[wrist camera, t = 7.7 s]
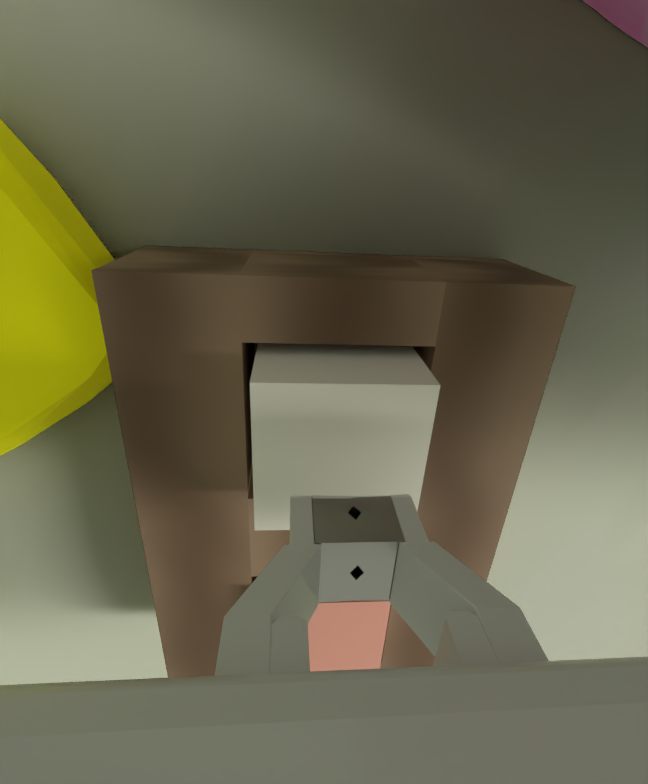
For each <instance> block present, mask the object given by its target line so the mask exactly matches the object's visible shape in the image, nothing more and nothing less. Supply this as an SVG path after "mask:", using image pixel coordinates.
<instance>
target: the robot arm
mask: <svg viewBox="0 0 648 784" xmlns="http://www.w3.org/2000/svg"><path fill="white" fill-rule="evenodd" d="M353 600H354V601H356V600H390V603H391V605H392V606H393V607H394V608H395V609H396V611H397V612H398V613H399V614H400V615H401V617H402V618H403V619H404V620H405V621H406V623H407V624H408V625H409V626H410V627H411V629H412V630H413V631H414V632H415V634H416V635H417V636H418V637H419V638H420V640H421V641H422V642H423V643H424V644H425V646H426V647H427V648H428V649H429V650H430V652H431V653H432V654H433V655H434V656H435V660H434V664H433V666H424V667H401V668H378V669H356V670H333V671H310V661H309V641H308V623H309V621H310V619H311V617H312V615H313V614H314V612H315V610H316V608H317V606H318V603H320V602H337V601H353ZM0 784H648V657H627V658H604V659H581V660H558V661H548V659H547V657H546V655H545V653H544V652H543V650H542V648H541V646H540V644H539V642H538V640H537V639H536V637H535V635H534V633H533V631H532V629H531V627H530V625H529V624H528V622H527V620H526V618H525V616H524V614H523V612H522V611H521V609H520V607H518V606H517V605H516V604H515V603H513V602H512V601H511V600H509V599H508V598H507V597H505V596H504V595H503V594H502V593H500V592H499V591H498V590H496V589H495V588H494V587H493V586H491V585H490V584H489V583H487V582H486V581H485V580H483V579H482V578H481V577H480V576H478V575H477V574H476V573H474V572H473V571H472V570H471V569H469V568H468V567H467V566H465V565H464V564H463V563H462V562H460V561H459V560H458V559H456V558H455V557H454V556H452V555H451V554H450V553H449V552H447V551H446V550H445V549H443V548H442V547H441V546H440V545H438V544H437V543H436V542H429V541H428V538H427V536H426V533H425V531H424V528H423V526H422V523H421V520H420V518H419V515H418V513H417V510H416V508H415V505H414V503H413V500H412V497H411V496H410V495H409V494H401V495H389V496H388V495H381V496H320V495H311V496H291V497H290V543H289V545H283V547H282V548H281V549H280V550H279V551H278V553H277V554H276V555H275V556H274V557H273V559H272V560H271V561H270V562H269V563H268V565H267V566H266V567H265V568H264V569H263V571H262V572H261V573H260V574H259V575H258V577H257V578H256V579H255V580H254V581H253V583H252V584H251V585H250V586H249V587H248V589H247V590H246V591H245V592H244V593H243V594H242V596H241V597H240V598H239V599H238V600H237V602H236V603H235V604H234V605H233V606H232V608H231V609H230V610H229V611H228V612H227V614H226V615H225V616H224V619H223V626H222V632H221V638H220V644H219V651H218V657H217V663H216V670H215V676H197V677H175V678H152V679H129V680H107V681H84V682H62V683H39V684H17V685H0Z"/></svg>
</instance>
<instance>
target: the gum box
mask: <svg viewBox="0 0 648 784" xmlns="http://www.w3.org/2000/svg"><path fill="white" fill-rule="evenodd" d="M582 1H584V2H585V3H586V4H588V5H589V6H591V7H592V8H594V9H595V10H596V11H597V12H599V13H600V14H601V15H602V16H603V17H604V18H606V19H607V20H608V21H609V22H611V23H612V24H614V25H615V26H616V27H618V28H619V29H621V30H622V31H623V32H625V33H626V34H628V35H629V36H631V37H632V38H634V39H635V40H637V41H638V42H640V43H641V44H643V45H644V46H646V47H647V48H648V0H582Z"/></svg>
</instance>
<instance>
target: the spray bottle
mask: <svg viewBox="0 0 648 784" xmlns="http://www.w3.org/2000/svg"><path fill="white" fill-rule="evenodd" d="M113 260H114V258H113V257H112V255H111V254H110V253H109V251H108V250H107V249H106V247H105V246H104V245H103V243H102V242H101V241H100V239H99V238H98V237H97V235H96V234H95V233H94V231H93V230H92V228H91V227H90V226H89V224H88V223H87V222H86V220H85V219H84V218H83V216H82V215H81V214H80V212H79V211H78V210H77V208H76V207H75V206H74V204H73V203H72V202H71V200H70V199H69V197H68V196H67V195H66V193H65V192H64V191H63V189H62V188H61V187H60V185H59V184H58V183H57V181H56V180H55V179H54V177H53V176H52V175H51V174H50V173H49V172H48V171H47V170H46V169H45V167H44V166H43V165H42V164H41V163H40V162H39V161H38V160H37V159H36V157H35V156H34V155H33V154H32V153H31V152H30V151H29V150H28V149H27V148H26V146H25V145H24V144H23V143H22V142H21V141H20V140H19V139H18V138H17V136H16V135H15V134H14V133H13V132H12V131H11V130H10V129H9V128H8V127H7V125H6V124H5V123H4V122H3V121H2V120H1V119H0V456H1V455H3V454H5V453H7V452H9V451H11V450H13V449H14V448H16V447H18V446H20V445H22V444H23V443H25V442H27V441H28V440H30V439H31V438H33V437H34V436H36V435H38V434H39V433H41V432H42V431H44V430H45V429H47V428H48V427H50V426H52V425H53V424H55V423H56V422H58V421H59V420H61V419H63V418H64V417H66V416H67V415H69V414H70V413H72V412H74V411H75V410H77V409H78V408H80V407H81V406H83V405H84V404H86V403H87V402H89V401H90V400H91V399H92V398H94V397H95V396H96V395H97V394H98V393H100V392H101V391H102V390H103V389H104V388H106V387H107V386H108V385H109V384H111V383H112V378H111V372H110V367H109V362H108V356H107V351H106V346H105V340H104V335H103V330H102V325H101V319H100V314H99V309H98V303H97V298H96V293H95V287H94V282H93V277H92V272H91V270H93V269H96V268H98V267H100V266H102V265H104V264H107V263H109V262H111V261H113Z"/></svg>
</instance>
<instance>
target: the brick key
mask: <svg viewBox="0 0 648 784" xmlns="http://www.w3.org/2000/svg"><path fill="white" fill-rule="evenodd" d="M390 606H391V603H390V600H356V601H354V600H353V601H337V602H320V603H318V606H317V608H316V610H315V612H314V614H313V615H312V617H311V619H310V621H309V623H308V641H309V661H310V671H333V670H356V669H378V668H380V665H381V659H382V653H383V647H384V641H385V635H386V629H387V623H388V617H389V611H390Z"/></svg>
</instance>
